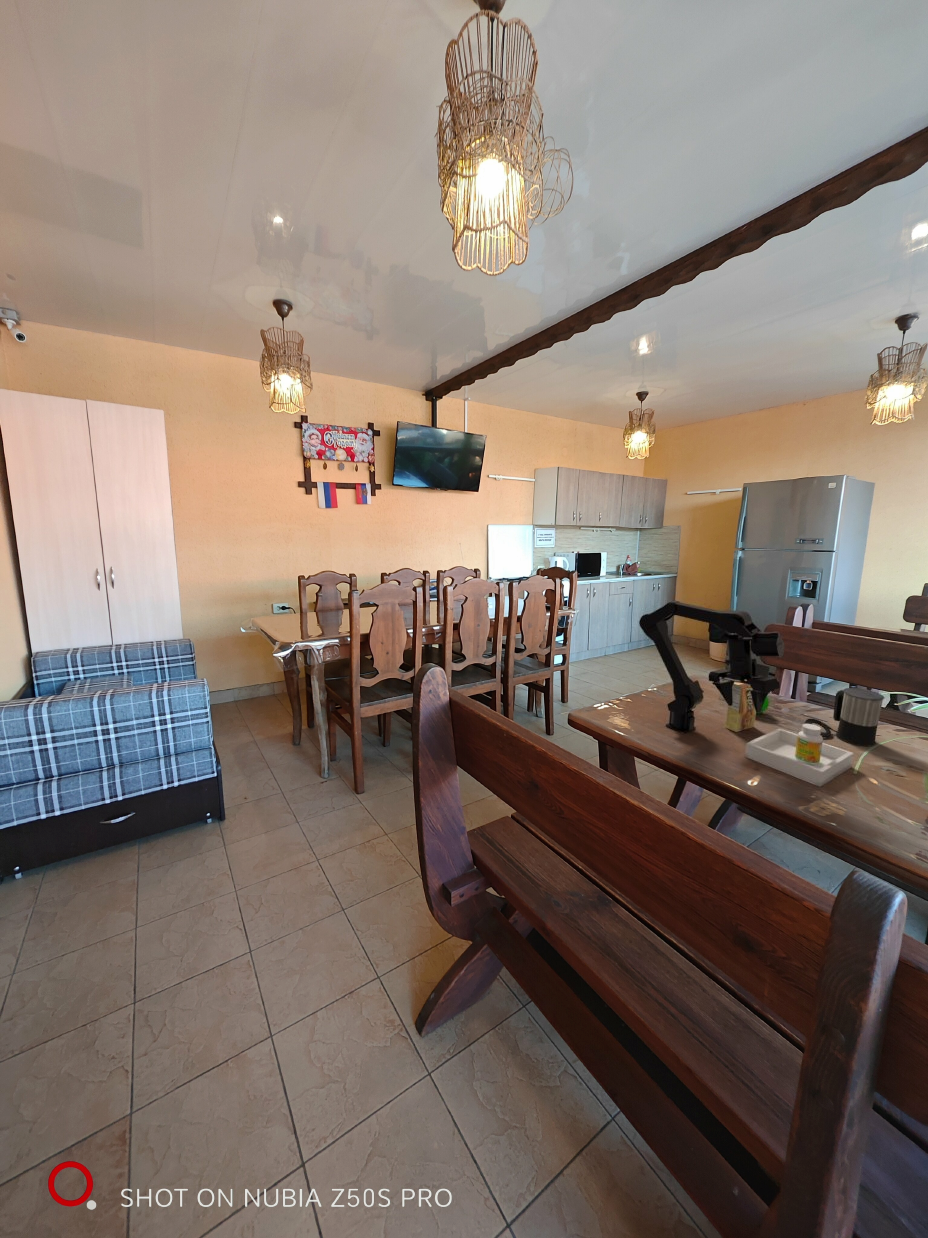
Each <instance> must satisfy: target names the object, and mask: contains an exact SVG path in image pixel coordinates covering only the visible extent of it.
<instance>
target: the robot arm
mask: <svg viewBox="0 0 928 1238" xmlns="http://www.w3.org/2000/svg"><path fill="white" fill-rule="evenodd" d="M675 616H677V617H683V618H686V619H690V620H695V621H699V622H701V623H702V622H703V623H708V624H711V625H713V626H715V627H716V628H718V629H719V630H722V631H724V632H723V634H722V635H721V636H720V637H719V638H718V640H719V641H724V642H725V641H726V643H727V655H728V656H727V657H728V659H727V658H726V659H725V660H724V661H725V664H728V667H729V668H728V669H724V668H723V669H717V670H712V671H710V672H709V674H708V682H712V685H714V686H715V687H716V689H717V690H718V692H719V693H720V695H721V696H722V697H723V700H725V702H726V704H727V706H728V705H729V706H732V704H733V696H732V686H733V684H734V682H739V683H745V684H750V687H751V688H752V689H753V690H750V692H751V696H752V700H753V703H754V707H755V710H756V714H761V713H762V712H761V710H762V707H763V704H764V701H765V699H766V697H768V695H769V693H772V692H775V691H776V690H779V689H780V688H781V687H780V686H781V685H780V680H779V679H778V678H776V677H771V676H769V673H770V669H771V667H770V665H765V664H760V663H757V659H756V658H755V657H752V656H753V655H755V656H756V657H762V658H765V657H766V658H767V657H769V658H782V657H783V656H784V653H785V642H784V640H783V637H782V635H781V631H772V632H765V631H764V632H762V630H761V628H759V627H758V626H757V625H756V624H755V623H754V622H753V619H752V617H751V615H750V613H748V612H747V611H744V610H734V609H733V610H728V609H727V610H726V609H725V610H724V609H723V610H721V609H713V608H708V607H703V606H700V605H699V606H698V605H694V604H690V603H685V602H680V601H679V600H674V601H669V602H667V603H666V604H664V605H663V606H662V607H659V608H657V609H656V610H654V611H653V612H650V613H646V614H642V616H641V617H640V618H639V621H638V624H639V627H640V629H641V630H642V632H643V633H644V634H645V636H647V638H649V639H650V640H651V641H652V642H653V643H654V646H655V648H656V651H657V652H658V654H659V656H660V658H661V661H662V662H663V665H664V666H665V668H666V671H667V673H668V675H669V677H670V679H671V681H672V687H673V689H672V690H673V691H672V692H673V696H674V699H673V700H672V701H670V702H669V703H667V709H668V711H669V717H668V718H669V720H668V723H666V724H665V727H667V726H668V728H670V729H672V730H675V731H676V732H677V731H678V732H680V733H682V734H685V733H688V732H690V731H693V730H696V726H695V720H696V717H695V711H694V709H696V707H697V706H698V705H700V704H701V703H703V700H704V692H705V691H704V690H703V689H702V687H701V684H700V682H699V680H694V681H693V680H692V679H691V678H690V677H689V676H688V674H687V672H686V670H685V668H684V666H683V663H682V662H681V660H680V658H679V655H678V653H677V651H676V649H675V647H674V645H673V643H672V641H671V639H670V637H669V626H668V621H669V620H671V619H672V618H673V617H675ZM746 680H747V681H746ZM760 712H761V713H760Z"/></svg>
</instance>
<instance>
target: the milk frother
mask: <svg viewBox="0 0 928 1238" xmlns="http://www.w3.org/2000/svg"><path fill="white" fill-rule="evenodd" d="M883 700H885V696H884V695H883V694H881V693H879V692H876V691H873V690H869V689H864V688H858V687H847V688H844V689H841V690H839V691H836V693H835V696H834V705H833V717H832V718H833V720H834V721H835V722H839V723H838V727H837V730H835V729H834V728H832V727H830V725H828V724H826V723H824V722H823V721H821V720H819V719H816V718H807V719H806V720H805V721H804V722H803V724H814V725H817V726H819V727H822V728H823V729H824V730H825V733H822V732H821V733H820V734H819V735H821V736H822V738H829V737H830V736H831V735H832V732H834V733H835V736H836V738H838V739H839V740H842V741H843V742H845V743H847V744H848V743H849V744H852V745H856V746H861V747H872V746H875V745H877V743H876V738H877V737H876V736H877V732H878V724H879V722H880V721H879V719H880V716H881V712H882V711H881V710H882V706H883V702H884V701H883Z"/></svg>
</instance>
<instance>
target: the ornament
mask: <svg viewBox="0 0 928 1238" xmlns="http://www.w3.org/2000/svg"><path fill="white" fill-rule="evenodd" d="M769 706H770V699H769V697H768V696H767V697H766V699H765V701H764V704H763V707H762V710H761V712H760V713H759V714H762V713H763V712H766V711H767V710H768V708H769Z"/></svg>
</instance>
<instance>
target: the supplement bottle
mask: <svg viewBox="0 0 928 1238" xmlns="http://www.w3.org/2000/svg"><path fill="white" fill-rule="evenodd" d="M801 726H802V727H801V731H799V732H798V733H797V734H798V738H797V745H796V751H795V758H796V759H797V760H798V761H800V762H802V763H805V764H810V765H817V764H819V762H820V756H821V750H822V743H824V739H823V738H824V737H822V736H821V735H819V734H820V733H821V734H822V728H821V726H820V725H817V724H814V723H812V724H804V723H802V725H801Z"/></svg>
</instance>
